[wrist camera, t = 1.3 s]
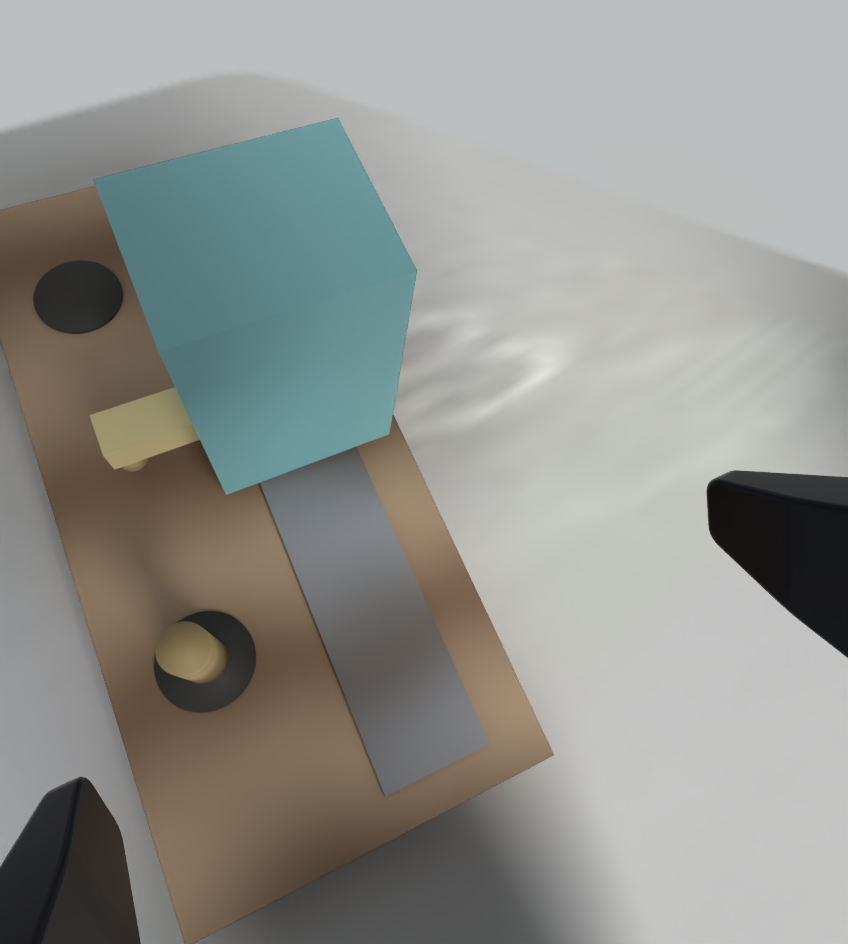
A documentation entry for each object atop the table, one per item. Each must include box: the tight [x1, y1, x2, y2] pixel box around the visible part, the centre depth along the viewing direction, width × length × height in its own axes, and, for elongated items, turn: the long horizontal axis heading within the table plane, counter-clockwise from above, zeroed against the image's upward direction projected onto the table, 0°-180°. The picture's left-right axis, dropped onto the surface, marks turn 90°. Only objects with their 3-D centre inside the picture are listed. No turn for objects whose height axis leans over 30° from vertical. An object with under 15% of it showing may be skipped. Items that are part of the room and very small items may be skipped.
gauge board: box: [0, 186, 554, 944], centre depth 20 cm, size 22×10×5 cm, turn 24°
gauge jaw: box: [90, 118, 417, 495], centre depth 17 cm, size 4×7×8 cm, turn 114°
